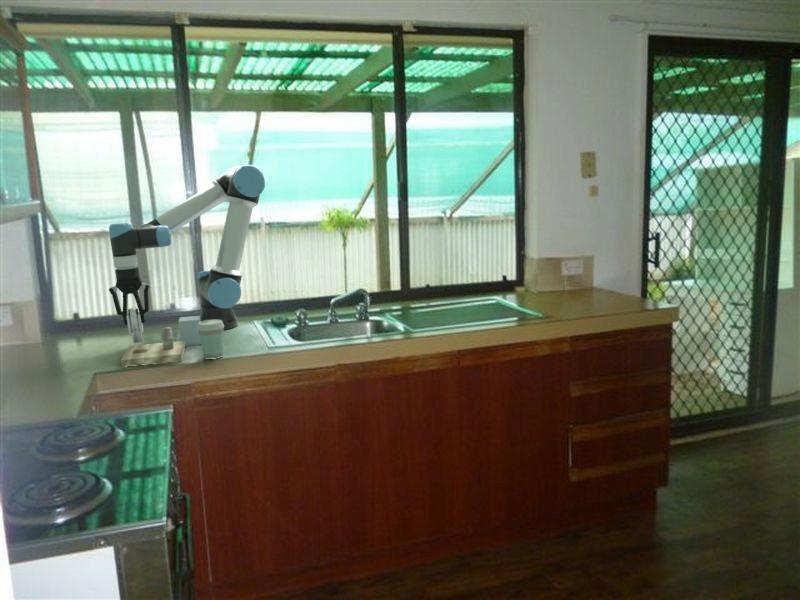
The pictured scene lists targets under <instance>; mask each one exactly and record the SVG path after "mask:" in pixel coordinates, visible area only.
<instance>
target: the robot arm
mask: <svg viewBox="0 0 800 600" xmlns="http://www.w3.org/2000/svg"><path fill="white" fill-rule="evenodd" d="M266 184H267V182H266V177H265V174H264V172H263V171H262V170H261V169H260V168H259V167H257V166H256V165H253V164H247V163H244V164H239V165H235V166H233V167H230V169H228V170H226V172H224V173H223V174H222V175H220V176H219V177H217V178H216V179H213V181H212V184H211V185H209V186H207V187H205V188H204V189H203V190H201V191H199V192H197V193H196V194H194V195H193V196H190V197H189V198H188V199H186V200H184V201H182V202H181V203H179V204H178V205H175V206H174V207H172V208H170V209H169V210H167V211H166V212H164V213H163V214H161V215H158V216H157V217H156V218H155V217H154V219H152V220H151V221H149V222H147V223H143V224H142V225H140V226H139V227H134V226H133V224H132V223H131V222H118V223H115V222H114V223H111V224H109V226H108V231H109V241H110V247H111V252H112V259H113V267H114V268H115V270H114V272H115V277H116V278H115V279H116V282H115V285H113V286H111V287H109V288H108V292H109V293H110V295H111V297H112V300H113V303H114V308H115V312H116V315H118V316H121V317H123V318H122V319H123V324H124V325H125V326H127V329H128V334H129V335H132V332H131V325H130V319H129V313H128V307H129V306H128V305H129V304H128V300H129V299H128V297H129V295H130V294H131V295H133V296H134V300H135V302H136V306H137V308H138V313H139V314H138V320H139V327H140V333H142V334H143V332H144V326H143V325H144V324H145V322H146V317H145V313H148V312H150V300H149V299H150V297H149V295H150V294H149V291H150V290H149V289H150V287H151V284H150V283H144V282H143V281H142V280H141V276H140V269H139V267H138V265H139V263H138V256H137V255H138V254H137V250H142V249H143V250H145V249H154V248H156V249H157V248H166V247H169V246H171V245H172V233H174V232H175V231H177V230H179V229H181V228H182V227H184V226H186V225H187V224H189V223H191V222H192V221H194V220H195V219H197V218H200V217H201V216H202V215H204V214H206V213H207V212H209V211H211V210H212V209H214V208H215V207H217V206H219V205H220V204H222V203H228V204H229V205H228V208H227V213H226V216H225V217H226V218H225V223H224V226H223V230H222V234H221V235H222V236H221V239H220V244H219V249H218V254H217V258H216V262H215V265H214V266H212V267H211V268H210V269H209V270H202V271H199V272H198V274H197V282H198V289H199V299H200V300H199V301H200V313H199V316H200V320H201V321H205V320H214V319H216V320H222V322H223V324H224V330H230V329H233V328H235V327H237V326H238V325H239V324H238V318H237V316H236V314H235V313H236V312H235V311H234V309H233V308H232V307H234V306H235V305H236V304H238V303H239V302H240V299H241V298H242V297H241V296H242V287H241V281H242V277H243V274H242V273H241V271H240V267H241V262H242V258H243V254H244V249H245V245H246V240H247V235H248V231H249V226H250V222H251V217H252V213H253V209H254V208H255V207H257V206H258V204H259V201H260V196H261V194H262V193H263V191H264V190H265V188H266ZM141 287H142V290H143V300H144V306H143V304H142V301H141V297H140V294H139V290H140V288H141ZM118 290H119V291H120V292H121V293H122V308H121V305H120V300H119V297H118V293H117V292H118ZM224 330H223V331H224Z"/></svg>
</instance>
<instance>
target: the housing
mask: <svg viewBox="0 0 800 600" xmlns="http://www.w3.org/2000/svg"><path fill="white" fill-rule="evenodd" d="M199 322H201V320H200V315H192V316H181V317H179V318H178V327H179V337H180V340H179V341H184V342H185V347H186V346H195V345H202V344H201V340H200V335H199V331H198V330H197V327H198V323H199Z"/></svg>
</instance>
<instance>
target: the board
mask: <svg viewBox="0 0 800 600" xmlns="http://www.w3.org/2000/svg"><path fill="white" fill-rule="evenodd" d="M160 330H161V331H160V332H161V339H162V342H155V343H154V342H153V343H147V344H136V345H129V346H128V347H127V348H126V350H125V352H124V353H123V356H122V357H121V359H120V365H121V368H122V367H125V366H133V365H142V364H153V363H163V364H168V363H167V362H172V363H178V362H177V361H181V362H182V361H183V359H184V358H183V357H184V353H185V350H186V349H185V348H186V346H185V342H184V341H181V340H178V341H176V340H175V341H174V340H173V330H172V327H171V326H166V327H161V329H160ZM153 365H154V364H153ZM125 368H126V367H125Z"/></svg>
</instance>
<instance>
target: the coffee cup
mask: <svg viewBox="0 0 800 600" xmlns="http://www.w3.org/2000/svg"><path fill="white" fill-rule="evenodd" d="M197 330H198V331H199V335H200V340H201V344H200V345H201V348H202V351H203V352H202V353H203V356H204V359H205V358H218V357H221V356H224V324H223V322H222V320H216V319H214V320H205V321H201V322H199V323H198V327H197Z"/></svg>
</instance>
